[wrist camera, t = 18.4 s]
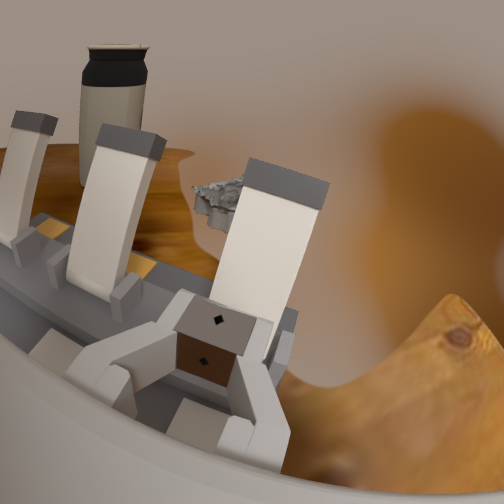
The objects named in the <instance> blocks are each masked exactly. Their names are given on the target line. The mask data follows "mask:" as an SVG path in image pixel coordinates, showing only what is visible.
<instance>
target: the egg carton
mask: <svg viewBox="0 0 504 504" xmlns="http://www.w3.org/2000/svg"><path fill="white" fill-rule="evenodd" d="M243 176H244V174H243V175H242V177H241V178H239V179H234V178H231V179H230V180H228V181H224V182H214V183H211V184H208V185H206V186H202V187H201V186H199V187H195V186H194V187H193V188H194V192H195V193H196V199H195V206H194V210H195V211H196V213H197V214H203V215H206V216H209V218H208V223H207V224H208V225H209V226H210V228H212V229H217V230H220V231H223V232H224V233H225V234H228V233H229V230H230V227H231V224H232V220H233V217H234V214H235V211H236V207H237V204H238V201H239V198H240V195H241V192H242V188H243V185H244V184H241V183H242V179H243Z"/></svg>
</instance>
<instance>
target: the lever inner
mask: <svg viewBox="0 0 504 504" xmlns="http://www.w3.org/2000/svg"><path fill="white" fill-rule="evenodd" d="M57 121H58V118H56V117H53V116H50V115H47V114H42V113H34V112H24V111H16V113H15V115H14V118H13V122H12V125H11V127H13V130H12V133H11V136H10V139H9V143H8V147H7V150H6V154H5V158H4V162H3V166H2V171H1V175H0V242H1V243H2V244H4V245H5V246H7V247H9V248H10V249H12V247H11V243H10V241H11V240H13V239H14V238H15V237H17V236H18V235H19V234H21V233H22V232H24V231H25V230H26V229H28V227H29V221H30V215H31V210H32V205H33V200H34V195H35V191H36V186H37V182H38V178H39V174H40V170H41V166H42V162H43V158H44V155H45V151H46V148H47V144H48V140H49V138H50V135H51V136H53V133H54V130H55V127H56V124H57Z"/></svg>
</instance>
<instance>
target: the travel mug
mask: <svg viewBox="0 0 504 504" xmlns="http://www.w3.org/2000/svg"><path fill="white" fill-rule="evenodd" d="M87 48H88V49H89V58H90V61H89V62H88V64H87V65H86V67H85V69H84V70H83V73H82V85H81V99H80V122H79V175H80V184H81V185H82V186H83V187H85V185H86V181H87V178H88V175H89V171H90V168H91V165H92V161H93V158H94V155H95V152H96V149H97V146H98V145H97V144H95V142H96V139H97V137H98V134H99V131H100V128H101V125H102V123H105V124H110V125H115V126H120V127H126V128H130V129H135V130H140V131H141V121H142V112H143V104H144V96H145V87H146V80H147V73H148V71H147V68H146V65H145V62H144V60H143V59H144V58H145V54H146V52H147V50H148V49H149V48H150V47H149V45H135V44H100V45H89V46H88V47H87Z"/></svg>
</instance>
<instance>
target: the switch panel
mask: <svg viewBox="0 0 504 504" xmlns="http://www.w3.org/2000/svg"><path fill="white" fill-rule="evenodd" d="M74 229H75V226H73V225H71V224H68V223H66V222H64V221H61V220H59V219H57V218H54V217H52V216H50V215H48V214H45V213H43V212H41V213H39V214H38V215H36V216H35V217H33V218H32V219H30V221H29V227H28V229H26V230H25V231H24V232H22V233H21V234H19V235H18V236H17V237H15V238H14V239H13V240H11V241H10V243H11V247H12V249H10V248H9V247H7V246H5V245H4V244H2V243H1V242H0V333H1V334H2V335H3V336H5V337H6V338H7V339H8V340H10V341H11V342H12V343H13V344H15V345H16V346H17V347H19V348H20V349H21V350H22V351H24V352H25V353H26V354H28V355H29V356H31V357H32V358H33V359H35V360H36V361H37V362H39V363H40V364H42V365H43V366H45V367H46V368H47V369H49V370H50V371H52V372H53V373H55V374H56V375H58V376H59V377H62V376H63V374H64V373H65V372H66V371H67V369H68V368H69V367H70V365H71V364H72V363H73V362H74V360H75V359H76V358H77V356H78V355H79V354H80V353H81V351H82V350H83V349H84V348H85V346H88V345H91V344H93V343H96V342H99V341H101V340H104V339H106V338H109V337H112V336H114V335H117V334H119V333H122V332H125V331H127V330H130V329H132V328H135V327H137V326H140V325H142V324H145V323H148V322H150V321H153V322H155V323H156V322H157V320H158V319H159V317H160V316H161V314H162V313H163V312H164V310H165V309H166V307H167V306H168V304H169V303H170V302H171V300H172V299H173V297H174V296H175V295H176V293H177V292H178V291H179V290H180V289H182V288H183V289H185V290H187V291H190V292H192V293H195V294H198V295H201V296H203V297H206V298H208V299H209V297H210V293H211V290H212V286H213V283H214V281H212V280H209V279H207V278H204V277H201V276H199V275H196V274H193V273H191V272H188V271H185V270H183V269H180V268H177V267H175V266H172V265H170V264H167V263H164V262H162V261H159V260H157V259H154V258H152V257H149V256H147V255H144V254H141V253H139V252H136V251H134V250H131V252H130V256H129V260H128V264H127V268H126V272H125V277H124V279H123V280H122V281H121V282H120V284H119V285H118V286H117V287H116V288H115V289H114V290H113V291H112V292H111V293H110V294H109V296H110V303H109V302H107V301H105V300H103V299H101V298H99V297H97V296H95V295H93V294H91V293H89V292H87V291H85V290H83V289H81V288H79V287H77V286H75V285H73V284H71V283H70V282H68V281H67V280H66V271H67V265H68V259H69V254H70V249H71V244H72V239H73V234H74ZM297 316H298V311H296V310H294V309H291V308H288V307H285V308H284V311H283V314H282V316H281V319H280V322H279V324H278V327H277V329H276V332H275V335H274V337H273V340H272V342H271V345H270V348H269V350H268V353H267V355H266V358H265V359H263V361H262V364H265V365H266V367H267V369H268V372H269V375H270V377H271V380H272V383H273V386H274V388H275V391H276V394H277V390H278V387H279V383H280V380H281V377H282V375H283V373H284V371H285V370H286V368H287V366H288V362H289V358H290V354H291V351H292V347H293V342H294V339H295V335H296V334H293V331H294V327H295V324H296V319H297ZM226 389H227V388H225V387H223V386H220V385H218V384H215V383H213V382H210V381H208V380H205V379H203V378H201V377H198V376H195V375H193V374H190V373H187V372H185V371H182V370H180V369H177V368H175V370H174V371H172V372H170V373H169V374H167V375H165V376H163V377H162V378H160V379H158V380H157V381H155V382H153V383H151V384H150V385H148V386H146V387H144V388H143V389H141V390H139V391H137V392H135V393H134V398H135V403H136V407H137V412H138V414H137V416H136V418H135V419H134V420H136V421H138V422H140V423H142V424H144V425H147V426H149V427H151V428H153V429H155V430H157V431H160V432H162V433H164V434H166V435H169V436H171V437H173V438H176V439H178V440H180V441H183V442H185V443H188V444H190V445H193V446H195V447H198V448H201V449H203V450H206V451H209V452H211V453H214V452H215V450H216V447H217V445H218V442H219V440H220V438H221V435H222V433H223V430H224V428H225V425H226V423H227V421H228V418H229V417H232V413H231V409H230V404H229V399H228V395H227V390H226Z"/></svg>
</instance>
